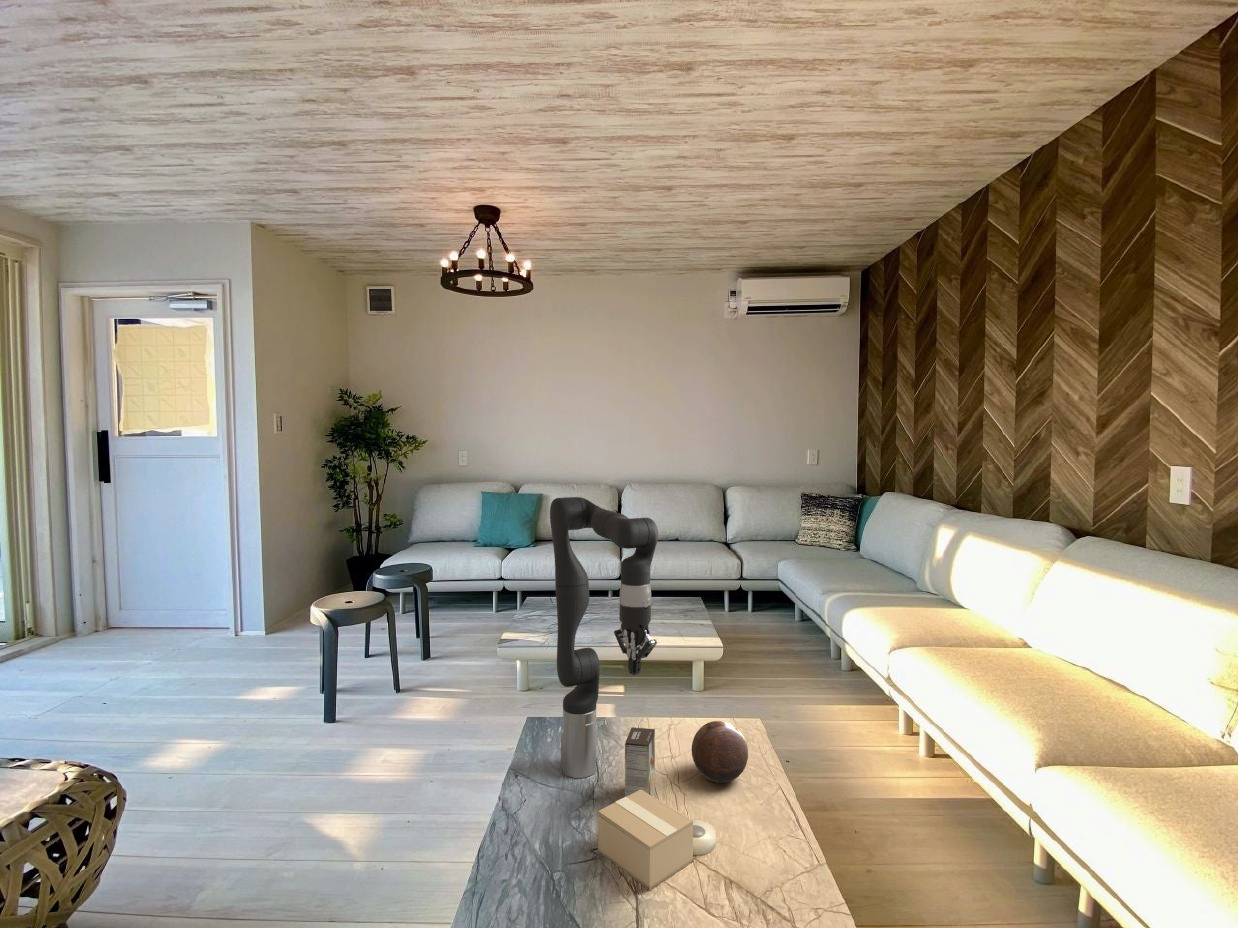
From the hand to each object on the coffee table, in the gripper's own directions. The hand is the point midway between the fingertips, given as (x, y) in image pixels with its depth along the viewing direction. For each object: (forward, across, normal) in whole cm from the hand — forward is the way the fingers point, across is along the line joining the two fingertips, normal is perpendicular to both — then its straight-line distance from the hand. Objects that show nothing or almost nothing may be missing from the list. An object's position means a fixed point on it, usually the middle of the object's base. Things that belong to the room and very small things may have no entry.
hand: (634, 673), depth 145 cm
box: (+35, +12, -8) cm, 38 cm away
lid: (+27, +12, -8) cm, 30 cm away
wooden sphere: (+35, +3, +29) cm, 46 cm away
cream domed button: (+35, +16, +4) cm, 38 cm away
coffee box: (+35, -5, +7) cm, 36 cm away
